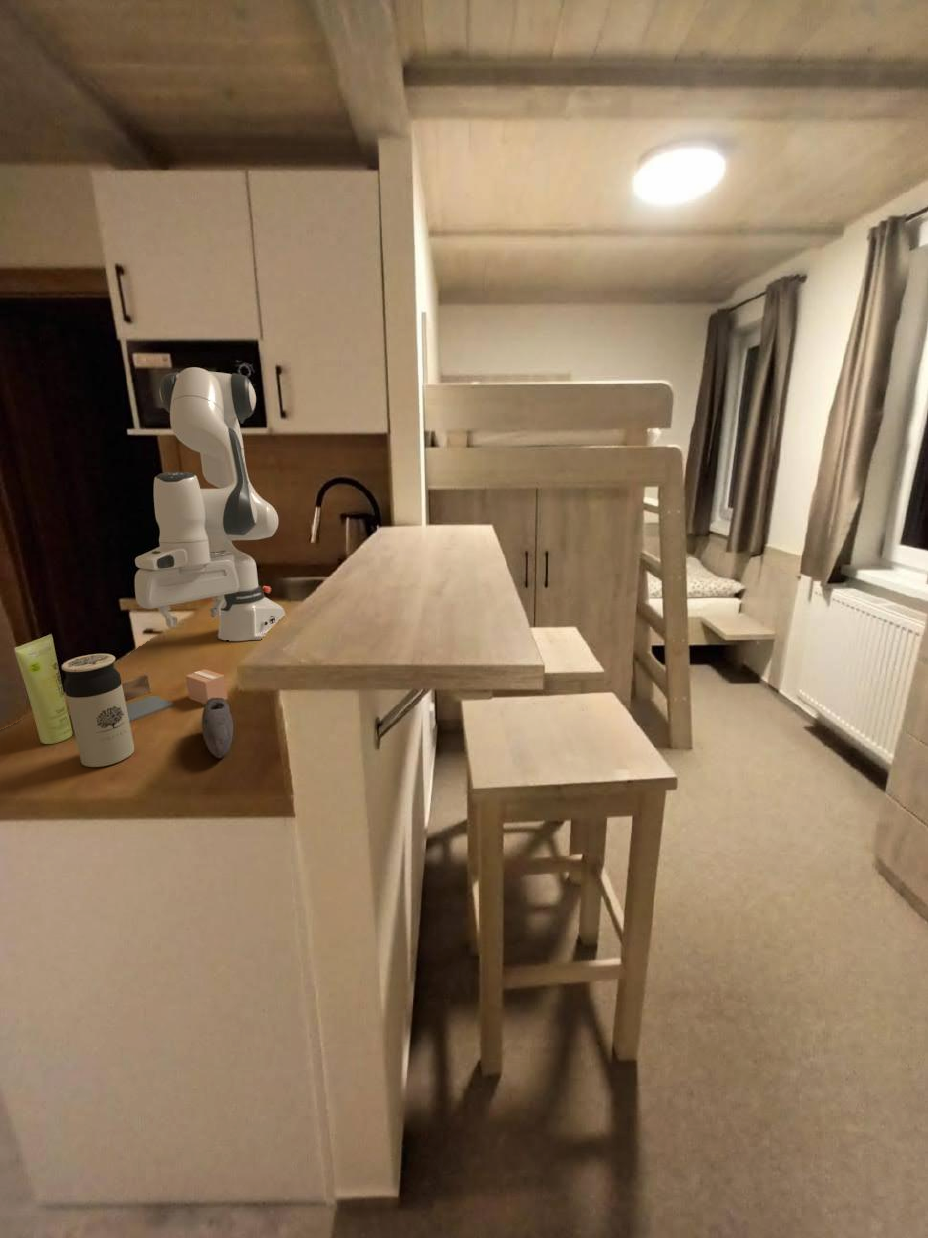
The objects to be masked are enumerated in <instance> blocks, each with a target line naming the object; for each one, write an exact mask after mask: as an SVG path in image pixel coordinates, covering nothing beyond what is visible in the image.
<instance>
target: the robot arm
mask: <svg viewBox="0 0 928 1238" xmlns="http://www.w3.org/2000/svg"><path fill="white" fill-rule="evenodd" d="M159 397H160V400H161V403H162V405H163V408H164V409H165V411H166V412H168V413H169V421H170V427H171V428H170V429H171V431H172V433H173V434H174V435H175V437H176V438H177V440H178V441H180V443H182V444H183V445H184V446H185V447H188V448H189V449H191V450H192V451H195V452H197V453H199V454H200V462H201V471H202V475H203V477H204V479H205V480H206V481H207V483H208V484H211V485H213V486H214V487H216V488H201V485H200V483H199V479H198V477H197V475H196V474H195V473H192V472H188V471H169V472H162V473H159V474H157V475H156V476H155V477H154V480H153V503H154V504H153V506H154V507H153V508H154V515H155V520H156V523H157V525H158V528H159V538H158V543H159V546H158V547H155V548H154V549H152V550H150V551H148V552H145V553H143V554H141V555H138V556H136V557H135V559H134V563H135V567H137V568H138V570H137V571H136V573H135V575H134V593H135V595H134V596H135V601H136V603H137V605H139V606H140V607H141V608H143V609H147V610H152V609H156V608H157V611H158V612H159V613H160V614H161V616H162V617H163V618H165V624H166V627H168V628H174V627H177V626H179V623H178V617H176V616H173V615H171V614H170V611H171V606H172V605H179V604H182V603H187V602H188V603H190V602H193V601H194V602H195V601H198V600H205V599H209V598H212V599H213V600H214V603H213V606H212V607H211V608H209V614H210V617H212V618H218V617H219V624H218V625H219V627H218V633H217V638H218V639H219V640H223V641H226V640H229V641H228V642H242V641H243V642H244V641H251V640H252V641H254V640H255V641H256V640H257V641H258V640H259V641H260V640H261V639H262V637H263V636H265V635H266V634H267V632H268V631H269V630H270V629H271V628H272V627H273V626H274V625H275V624H276V623H277V622H278V620H279V619H281V618H282V617H283V616H285V615H286V612H285V609H284V608H283V606H281V605H280V604H278V603H276V602H275V601H273V600H271V599H269V598H268V597H266V595H265V594H270V593H271V592H272V588H271V587H270V586H268V585H267V586H266V585H263V586H261V585H259V579H258V569H257V564H256V561H255V559H254V558H253V557H252V556H251V555H250V554H247V553H245V552H242V551H240V550H239V549H237V548H236V547H235V546H234V543H233V542H232V541H256V540H262V539H266V538H271V537H273V536H274V534H275V533H276V531H277V530H278V527H279V515H278V513H277V510H276V509H275V507H274V506H273V505H272V504H270V503H269V502H268V501H266V499H263V498H262V497H261V495H260V494H258V493H257V491H256V490H255V488H254V487H253V485H252V483H251V481H250V478H249V475H248V469H247V464H246V458H245V457H246V456H245V449H244V448H245V446H244V440H243V435H242V430H241V426H240V425H241V424H244V422H245V420H246V419H248V418H250V417H251V416H252V415H253V414H254V412H255V409H256V403H257V396H256V392H255V389H254V387H253V385H252V381H251V380H250V379H249V378H248V377H247V376H246V375H243V374H239V373H235V372H232V374H231V373H226V372H216V371H208V370H206V369H204V368H201V367H197V366H196V367H195V366H194V367H193V366H192V367H187V368H184V369H183V370H181V371H180V372H170V373H167V374H165V375H164V376H163V377H162V378H161V379H160V382H159ZM264 593H265V594H264ZM262 640H263V639H262ZM262 640H261V641H262Z"/></svg>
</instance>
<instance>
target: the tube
mask: <svg viewBox="0 0 928 1238" xmlns="http://www.w3.org/2000/svg"><path fill="white" fill-rule="evenodd" d="M53 637H54V636H53V635H52V633H50V634H48V635H46V636H43V637H41V638H38V639H35V640H32V641H30V642H27V643H24V644H21V645H19V646H16V647H14V648H13V649H14V654H15V657H16V660H17V664H18V666H19V669H20V673H21V675H22V680H23V683H24V686H25V689H26V692H27V696H28V699H29V702H30V707H31V711H32V714H33V717H34V721H35V724H36V729H37V733H38V737H39V741H40V743H42V744H45V745H52V744H53V745H54V744H58V743H61V742H64V741H66V740H68V739H70V738H71V737H72V735H73V733H74V731H73V727H72V724H71V723H72V722H71V718H70V715H69V714H70V713H69V709H68V707H67V705H68V704H67V700H66V695H65V690H64V686H63V683H62V678H61V673H60V669H59V664H58V659H57V654H56V649H55V643H54V638H53Z"/></svg>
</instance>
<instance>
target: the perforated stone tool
mask: <svg viewBox="0 0 928 1238" xmlns="http://www.w3.org/2000/svg"><path fill="white" fill-rule="evenodd" d="M230 710H231V709H230V705H229V704H228V702H227V701H226V699H225V700H224V699H223V698H211V699H209V700H208V701H207V702H206V704H204V706H203V711H202V716H201V730H202V731H201V732H202V736H203V739H204V743H205V745H206V746H207V748H208V750H209V752H210V753H211V754H212V755H213V756H214V757H216V758H218V759H221V758H223V757H224V756H225V755H227V754H228V752H229V751H230V749H231V745H232V740H233V737H234V735H233V734H234V723H233V722H234V721H233V716H232V714H231V713H230Z"/></svg>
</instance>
